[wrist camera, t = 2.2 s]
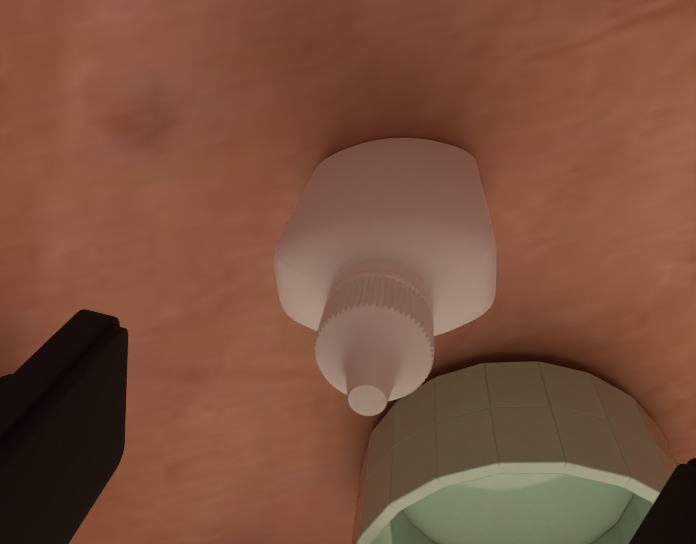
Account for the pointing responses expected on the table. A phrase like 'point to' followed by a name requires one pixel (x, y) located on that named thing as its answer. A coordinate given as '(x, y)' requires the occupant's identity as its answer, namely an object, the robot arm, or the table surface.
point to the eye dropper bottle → (386, 262)
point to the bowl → (511, 461)
